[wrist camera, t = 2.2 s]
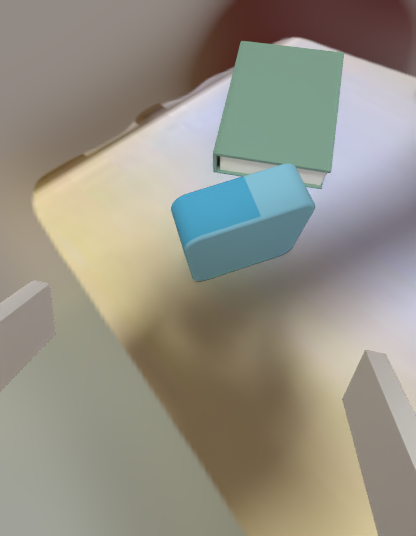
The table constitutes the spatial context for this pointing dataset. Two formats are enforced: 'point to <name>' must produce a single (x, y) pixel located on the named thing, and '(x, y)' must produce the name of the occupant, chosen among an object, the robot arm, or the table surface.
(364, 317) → the table surface
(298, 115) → the green book
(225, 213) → the data package
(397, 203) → the table surface
